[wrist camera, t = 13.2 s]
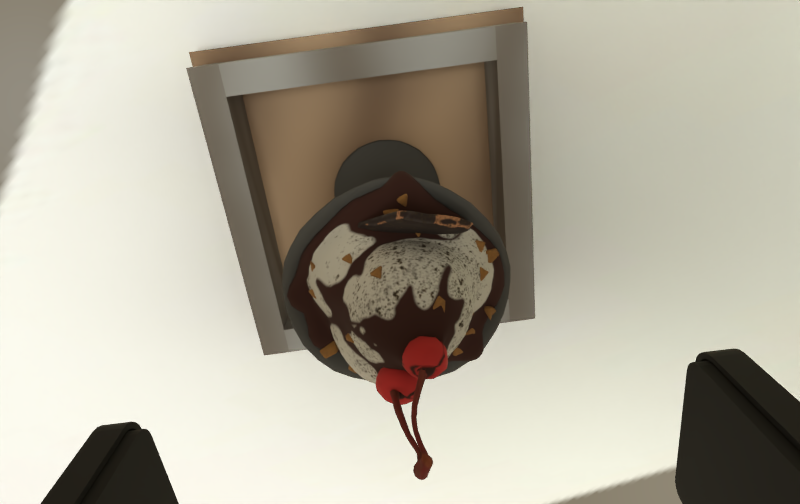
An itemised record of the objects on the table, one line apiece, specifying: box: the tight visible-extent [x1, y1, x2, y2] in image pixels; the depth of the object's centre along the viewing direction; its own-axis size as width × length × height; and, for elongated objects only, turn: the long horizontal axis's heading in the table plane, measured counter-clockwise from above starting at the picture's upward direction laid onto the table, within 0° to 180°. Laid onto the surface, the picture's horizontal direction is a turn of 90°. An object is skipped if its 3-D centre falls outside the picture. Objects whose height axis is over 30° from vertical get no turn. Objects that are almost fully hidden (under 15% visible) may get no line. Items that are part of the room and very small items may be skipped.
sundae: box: [282, 140, 511, 480], centre depth 18 cm, size 7×7×15 cm
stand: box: [186, 7, 535, 355], centre depth 24 cm, size 14×14×4 cm
